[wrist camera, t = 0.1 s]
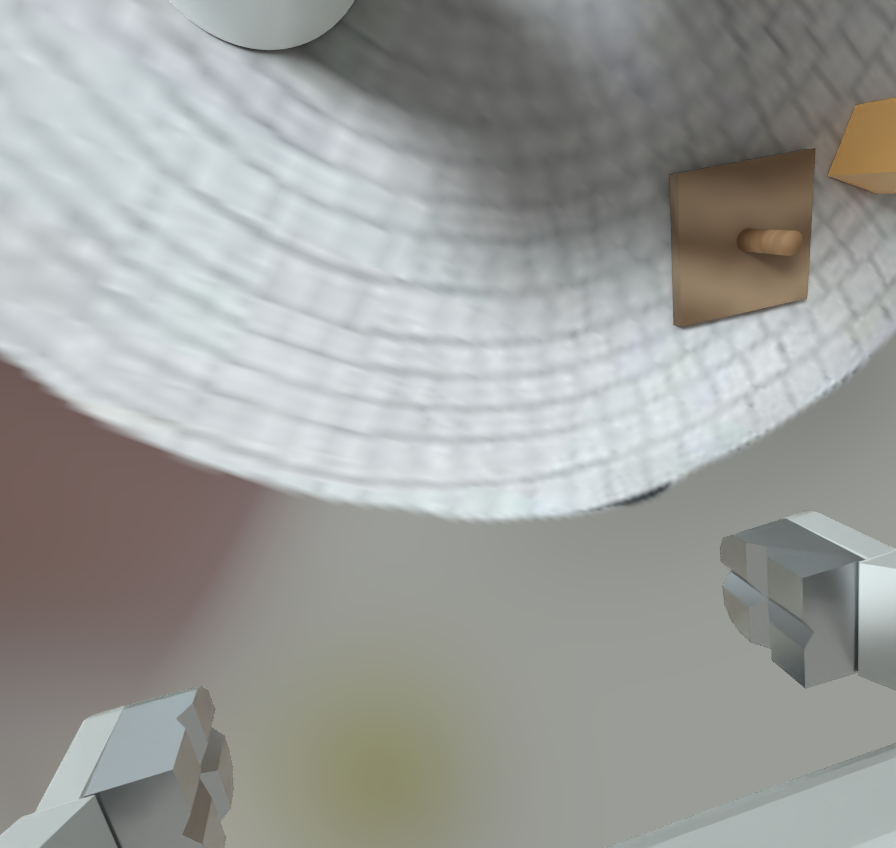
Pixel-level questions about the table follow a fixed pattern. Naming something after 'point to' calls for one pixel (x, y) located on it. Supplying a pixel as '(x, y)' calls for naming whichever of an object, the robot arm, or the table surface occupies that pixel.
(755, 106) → the table surface
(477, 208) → the table surface
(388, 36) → the table surface
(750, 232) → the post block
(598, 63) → the table surface
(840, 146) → the tall orange pillar
